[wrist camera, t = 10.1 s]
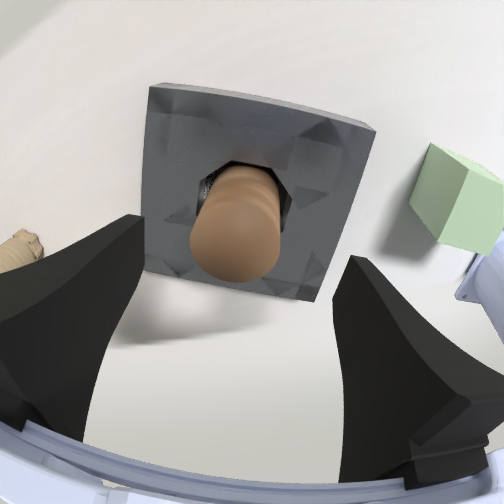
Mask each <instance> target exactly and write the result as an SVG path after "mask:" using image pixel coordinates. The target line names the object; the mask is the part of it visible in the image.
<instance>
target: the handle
mask: <svg viewBox="0 0 504 504" xmlns="http://www.w3.org/2000/svg"><path fill="white" fill-rule="evenodd" d="M41 253H42V246H41V245H40V243H39V241H38V239H37V236H36V235H35V234H32V233H29V232H27V231H26V230H23V229H22V230H20V231H18V232H16V233H15V234H14V235H13V238H10V239H8V240H7V241H5V242H4V243H3V244H2V245H0V273H4V272H7V271H10V270H13V269H16V268H19V267H22V266H24V265H27V264H30V263H33V262H35V261H38V259H39V256H40V255H41Z"/></svg>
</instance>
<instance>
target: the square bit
mask: <svg viewBox="0 0 504 504" xmlns="http://www.w3.org/2000/svg"><path fill="white" fill-rule="evenodd" d="M408 204H409V205H410V206H411V207H412V209H413V210H414V211H415V213H416V214H417V215H418V217H419V218H420V219H421V221H422V222H423V223H424V225H425V226H426V227H427V229H428V230H429V232H430V233H431V234H432V236H433V237H434V238H435V240H436V241H437V242H438V243H442V244H446V245H450V246H453V247H457V248H460V249H464V250H467V251H471V252H474V253H478V254H481V255H485V256H488V257H489V255H490V253H491V251H492V249H493V247H494V245H495V244H496V242H497V240H498V238H499V236H500V234H501V232H502V230H503V228H504V181H502V180H501V179H500V178H498V177H497V176H496V175H494V174H493V173H492V172H490V171H489V170H488V169H486V168H485V167H483V166H482V165H480V164H479V163H477V162H475V161H472V160H470V159H468V158H466V157H464V156H461V155H459V154H457V153H455V152H452V151H450V150H448V149H445V148H443V147H441V146H438V145H436V144H433V143H430V146H429V149H428V152H427V155H426V158H425V160H424V163H423V166H422V169H421V171H420V174H419V177H418V179H417V182H416V185H415V187H414V190H413V192H412V195H411V197H410V200H409V202H408Z"/></svg>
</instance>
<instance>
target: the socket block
mask: <svg viewBox="0 0 504 504" xmlns="http://www.w3.org/2000/svg"><path fill="white" fill-rule="evenodd" d="M375 135H376V131H375V130H374V129H372V128H371V127H370V126H368V125H367V124H366V123H364V122H361V121H357V120H354V119H351V118H347V117H344V116H340V115H337V114H333V113H330V112H326V111H322V110H318V109H315V108H311V107H307V106H302V105H298V104H294V103H290V102H285V101H281V100H276V99H271V98H266V97H261V96H256V95H251V94H245V93H239V92H233V91H227V90H221V89H214V88H207V87H199V86H191V85H182V84H172V83H161V84H157V85H153V86H150V87H149V96H148V105H147V115H146V125H145V137H144V151H143V168H142V190H141V216H143V217H145V266H144V269H143V270H145V271H150V272H155V273H159V274H164V275H169V276H174V277H178V278H184V279H189V280H194V281H199V282H204V283H209V284H214V285H219V286H224V287H230V288H235V289H240V290H246V291H251V292H257V293H262V294H268V295H273V296H279V297H285V298H291V299H296V300H302V301H308V302H314V301H315V299H316V296H317V294H318V292H319V289H320V287H321V284H322V282H323V279H324V277H325V275H326V272H327V270H328V267H329V265H330V262H331V259H332V257H333V254H334V252H335V249H336V247H337V244H338V241H339V239H340V236H341V233H342V231H343V228H344V225H345V223H346V220H347V217H348V215H349V212H350V209H351V206H352V203H353V201H354V198H355V195H356V192H357V189H358V186H359V183H360V181H361V178H362V175H363V172H364V169H365V166H366V163H367V160H368V157H369V153H370V150H371V147H372V144H373V141H374V138H375ZM231 160H234V161H239V162H244V163H250V164H255V165H260V166H265V167H270V168H272V170H273V171H274V172H275V174H276V175H277V177H278V178H279V180H280V181H281V183H282V184H283V186H284V187H285V189H286V190H287V192H288V194H287V198H286V202H285V206H284V209H283V213H282V214H280V254H279V257H278V260H277V262H276V264H275V265H274V267H273V268H272V269H271V270H270V271H269V272H268V273H267V274H265V275H264V276H262V277H261V278H258V279H256V280H253V281H249V282H243V283H233V282H227V281H223V280H220V279H217V278H215V277H213V276H211V275H209V274H208V273H207V272H205V271H204V270H203V269H202V268H201V267H200V266H199V265H198V264H197V262H196V261H195V259H194V257H193V255H192V252H191V249H190V234H191V231H192V229H193V226H194V224H195V222H196V219H197V217H198V215H199V213H200V210H201V208H202V206H203V204H204V201H205V199H204V198H203V197H204V189H205V182H206V176H208V175H209V174H211V173H212V172H214V171H215V170H217V169H218V168H220V167H221V166H223V165H224V164H226V163H228V162H229V161H231Z"/></svg>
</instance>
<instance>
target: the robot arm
mask: <svg viewBox="0 0 504 504" xmlns="http://www.w3.org/2000/svg"><path fill="white" fill-rule="evenodd" d="M144 266H145V217H143V216H137V215H131V214H128V215H125V216H123V217H121V218H119V219H117V220H116V221H114V222H112V223H110V224H108V225H107V226H105V227H103V228H101V229H100V230H98V231H96V232H94V233H92V234H91V235H89V236H87V237H85V238H83V239H81V240H80V241H78V242H76V243H74V244H72V245H70V246H68V247H66V248H65V249H62V250H60V251H58V252H56V253H54V254H52V255H50V256H47V257H45V258H43V259H40V260H38V261H35V262H33V263H30V264H27V265H24V266H22V267H19V268H16V269H13V270H10V271H7V272H4V273H0V498H1V499H3V500H4V501H6V502H8V503H9V504H504V448H501V449H497V450H494V451H492V452H490V453H488V454H486V453H485V450H484V447H486V446H487V445H488V444H489V440H488V436H487V434H489V433H490V432H491V431H493V430H494V429H495V428H496V427H497V426H499V425H500V424H501V423H502V422H504V375H502V374H500V373H498V372H497V371H495V370H493V369H491V368H489V367H487V366H486V365H484V364H483V363H481V362H479V361H478V360H476V359H475V358H473V357H472V356H470V355H469V354H467V353H466V352H464V351H463V350H462V349H460V348H459V347H458V346H456V345H455V344H454V343H452V342H451V341H450V340H449V339H447V338H446V337H445V336H444V335H442V334H441V333H440V332H439V331H438V330H437V329H436V328H434V327H433V326H432V325H431V324H430V323H429V322H428V321H427V320H426V319H424V318H423V317H422V316H421V315H420V314H419V313H418V312H417V311H416V310H415V309H414V308H413V306H412V305H410V303H409V302H408V301H407V300H406V299H405V298H404V297H403V296H402V295H401V294H400V293H399V292H398V291H397V289H396V288H395V287H394V286H393V285H392V284H391V283H390V282H389V281H388V280H387V278H386V277H385V276H384V275H383V274H382V273H381V272H380V271H379V270H378V269H377V268H376V267H375V266H374V265H373V263H371V262H370V261H369V260H368V259H367V258H364V257H359V256H354V255H351V256H350V258H349V261H348V263H347V266H346V268H345V270H344V273H343V275H342V277H341V280H340V282H339V284H338V287H337V289H336V291H335V294H334V296H333V298H332V303H333V324H334V329H335V336H336V341H337V347H338V353H339V358H340V365H341V370H342V379H343V393H344V428H343V429H344V430H343V446H342V458H341V467H340V474H339V481H338V483H333V484H332V483H331V484H330V483H329V484H298V483H273V482H259V481H248V480H239V479H230V478H223V477H216V476H209V475H203V474H197V473H191V472H186V471H181V470H175V469H171V468H167V467H162V466H157V465H154V464H149V463H146V462H142V461H138V460H134V459H131V458H127V457H124V456H120V455H117V454H114V453H111V452H107V451H104V450H101V449H98V448H95V447H93V446H89V445H87V444H84V443H83V437H84V431H85V426H86V420H87V415H88V410H89V406H90V402H91V398H92V394H93V390H94V386H95V383H96V380H97V376H98V372H99V369H100V366H101V363H102V360H103V357H104V354H105V351H106V349H107V346H108V343H109V341H110V339H111V336H112V334H113V332H114V330H115V328H116V326H117V324H118V322H119V320H120V318H121V317H122V315H123V313H124V311H125V309H126V307H127V305H128V303H129V301H130V299H131V297H132V295H133V293H134V291H135V290H136V287H137V285H138V282H139V280H140V277H141V274H142V271H143V269H144ZM463 295H464V296H463ZM455 298H456V299H457V300H461V301H467V302H472V303H478V304H481V305H482V306H483V308H484V310H485V312H486V313H487V315H488V317H489V318H490V320H491V322H492V324H493V326H494V327H495V329H496V331H497V333H498V335H499V337H500V339H501V340H502V342H503V344H504V228H503V230H502V232H501V234H500V236H499V238H498V240H497V242H496V244H495V245H494V247H493V249H492V251H491V253H490V255H489V257H488V256H485V255H481V254H478V255H477V257H476V259H475V261H474V263H473V264H472V266H471V268H470V269H469V271H468V273H467V275H466V276H465V278H464V280H463V281H462V283H461V285H460V286H459V288H458V289H457V291H456V293H455ZM95 476H96V477H95ZM97 477H99V478H102V479H105V480H108V481H111V482H114V483H117V484H121V485H124V486H127V487H131V488H125V487H116V488H112V487H108V486H104V485H103V482H102V481H101V479H99V478H97Z"/></svg>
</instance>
